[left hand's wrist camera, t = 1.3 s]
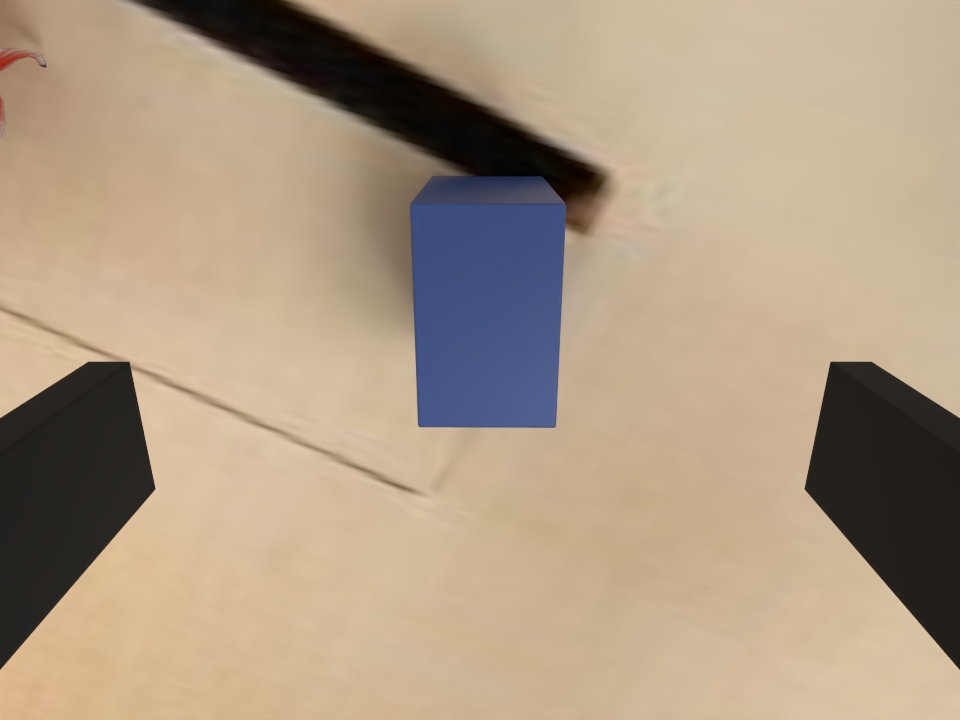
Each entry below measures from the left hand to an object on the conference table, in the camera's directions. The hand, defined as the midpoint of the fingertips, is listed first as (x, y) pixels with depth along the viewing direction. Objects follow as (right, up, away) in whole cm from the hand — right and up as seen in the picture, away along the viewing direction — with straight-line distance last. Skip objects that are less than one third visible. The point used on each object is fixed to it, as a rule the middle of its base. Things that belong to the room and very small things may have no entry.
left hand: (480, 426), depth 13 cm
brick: (0, +5, +13) cm, 14 cm away
